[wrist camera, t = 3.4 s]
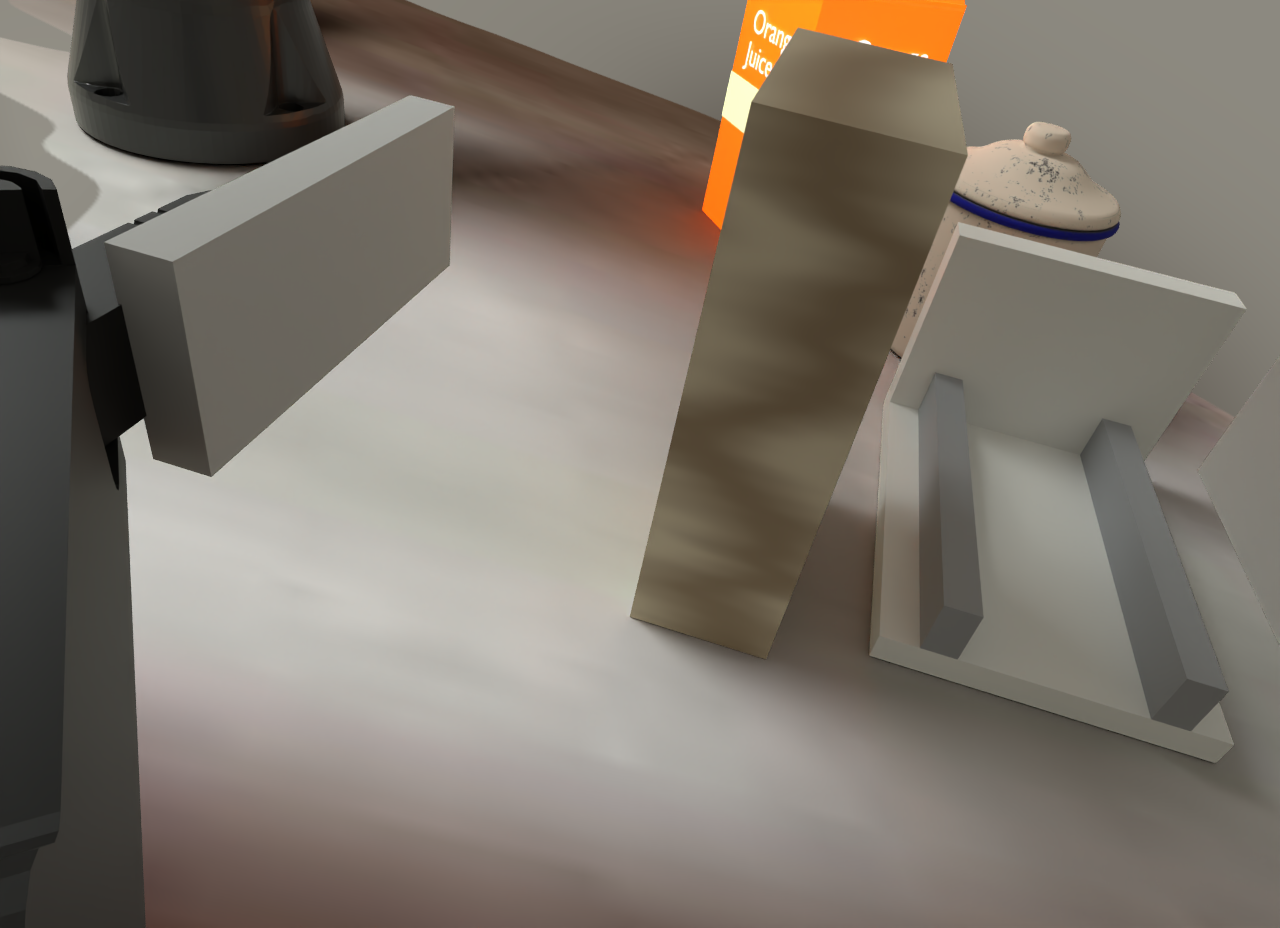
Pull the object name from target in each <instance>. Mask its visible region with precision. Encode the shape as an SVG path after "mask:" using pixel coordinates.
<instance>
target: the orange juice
mask: <svg viewBox="0 0 1280 928" xmlns="http://www.w3.org/2000/svg"><path fill="white" fill-rule="evenodd" d="M965 9H966V5H965V0H748V1H747V6H746V11H745V15H744V20H743V25H742V29H741V34H740V39H739V43H738V48H737V52H736V57H735V61H734V66H733V70H732V71H731V76H730V80H729V84H728V89H727V94H726V98H725V103H724V107H723V112H722V121H721V126H720V130H719V135H718V139H717V144H716V148H715V153H714V158H713V162H712V167H711V171H710V176H709V181H708V185H707V190H706V194H705V199H704V204H703V208H702V210H703V211H704V213H705V214H706V215H707V216H708V217H709V218H710V219H711V220H712V221H713V222H714V223H715V224H716V225H717V226H718V227H719V228H720V229H721V228H722V224H723V220H724V216H725V211H726V207H727V203H728V199H729V194H730V190H731V186H732V182H733V177H734V173H735V169H736V165H737V160H738V156H739V152H740V148H741V144H742V139H743V135H744V131H745V127H746V122H747V118H748V114H749V110H750V105H751V101H752V100H753V98H754V97H755V95H756V93H757V92H758V90H759V89H760V87H761V85H762V84H763V82H764V81H765V79H766V78H767V76H768V74H769V73H770V71H771V70H772V68H773V66H774V65H775V63H776V62H777V60H778V58H779V57H780V55H781V54H782V52H783V50H784V49H785V47H786V46H787V44H788V42H789V41H790V39H791V38H792V36H793V34H794V33H795V31H796V30H797V28H798V27H799V28H803V29H807V30H811V31H815V32H820V33H824V34H828V35H832V36H836V37H841V38H845V39H849V40H853V41H857V42H862V43H866V44H870V45H874V46H879V47H883V48H887V49H891V50H895V51H900V52H904V53H908V54H912V55H916V56H921V57H925V58H929V59H933V60H938V61H942V62H947V59H948V56H949V53H950V50H951V48H952V45H953V42H954V39H955V37H956V34H957V31H958V28H959V25H960V22H961V20H962V17H963V14H964V12H965Z"/></svg>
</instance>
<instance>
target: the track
mask: <svg viewBox="0 0 1280 928" xmlns="http://www.w3.org/2000/svg"><path fill="white" fill-rule="evenodd" d="M1246 310H1247V309H1246V307H1245V306H1244V305H1243V303H1242V302H1241V300H1240V299H1239V298H1238V296H1237V295H1236V293H1234V292H1229V291H1226V290H1222V289H1217V288H1214V287H1210V286H1206V285H1202V284H1198V283H1195V282H1191V281H1186V280H1183V279H1179V278H1175V277H1171V276H1167V275H1163V274H1159V273H1155V272H1152V271H1147V270H1144V269H1140V268H1136V267H1132V266H1128V265H1124V264H1120V263H1116V262H1112V261H1108V260H1105V259H1101V258H1097V257H1093V256H1089V255H1085V254H1081V253H1077V252H1073V251H1070V250H1066V249H1062V248H1058V247H1054V246H1050V245H1046V244H1042V243H1038V242H1034V241H1031V240H1027V239H1023V238H1019V237H1015V236H1011V235H1007V234H1003V233H999V232H995V231H992V230H988V229H984V228H980V227H976V226H972V225H968V224H964V223H960V222H958V224H957V226H956V228H955V231H954V233H953V236H952V238H951V240H950V243H949V245H948V248H947V250H946V253H945V255H944V257H943V260H942V262H941V265H940V267H939V269H938V272H937V274H936V277H935V279H934V282H933V284H932V286H931V289H930V291H929V294H928V296H927V298H926V301H925V303H924V306H923V308H922V311H921V313H920V315H919V318H918V320H917V323H916V325H915V327H914V330H913V332H912V335H911V337H910V340H909V342H908V344H907V347H906V349H905V352H904V354H903V356H902V359H901V361H900V364H899V366H898V369H897V371H896V373H895V376H894V378H893V381H892V383H891V385H890V388H889V390H888V393H887V395H886V398H885V400H884V402H883V417H882V435H881V453H880V471H879V489H878V507H877V525H876V542H875V560H874V578H873V596H872V614H871V632H870V650H869V656H872V657H875V658H878V659H881V660H885V661H888V662H891V663H894V664H898V665H901V666H904V667H907V668H910V669H914V670H917V671H920V672H923V673H927V674H930V675H933V676H936V677H939V678H943V679H946V680H949V681H952V682H956V683H959V684H962V685H965V686H968V687H972V688H975V689H978V690H981V691H985V692H988V693H991V694H994V695H997V696H1001V697H1004V698H1007V699H1010V700H1013V701H1017V702H1020V703H1023V704H1026V705H1030V706H1033V707H1036V708H1039V709H1042V710H1046V711H1049V712H1052V713H1055V714H1059V715H1062V716H1065V717H1068V718H1071V719H1075V720H1078V721H1081V722H1084V723H1088V724H1091V725H1094V726H1097V727H1100V728H1104V729H1107V730H1110V731H1113V732H1117V733H1120V734H1123V735H1126V736H1129V737H1133V738H1136V739H1139V740H1142V741H1145V742H1149V743H1152V744H1155V745H1158V746H1162V747H1165V748H1168V749H1171V750H1174V751H1178V752H1181V753H1184V754H1187V755H1191V756H1194V757H1197V758H1200V759H1203V760H1207V761H1210V762H1213V763H1216V762H1217V761H1218V760H1219V759H1220V758H1221V757H1222V756H1223V755H1224V754H1225V753H1226V752H1228V751H1229V750H1230V749H1231V748H1232V747H1233V746H1234V743H1233V740H1232V737H1231V734H1230V731H1229V728H1228V726H1227V723H1226V720H1225V717H1224V714H1223V711H1222V709H1221V706H1220V703H1219V702H1220V701H1221V699H1222V698H1223V697H1224V696H1225V695H1226V694H1227V693H1228V692H1229V690H1228V687H1227V685H1226V682H1225V679H1224V677H1223V674H1222V671H1221V668H1220V666H1219V663H1218V660H1217V658H1216V655H1215V652H1214V649H1213V647H1212V644H1211V641H1210V639H1209V636H1208V633H1207V631H1206V628H1205V625H1204V622H1203V620H1202V617H1201V614H1200V612H1199V609H1198V606H1197V603H1196V601H1195V598H1194V595H1193V593H1192V590H1191V587H1190V585H1189V582H1188V579H1187V576H1186V574H1185V571H1184V568H1183V566H1182V563H1181V560H1180V557H1179V555H1178V552H1177V549H1176V547H1175V544H1174V541H1173V539H1172V536H1171V533H1170V530H1169V528H1168V525H1167V522H1166V520H1165V517H1164V514H1163V511H1162V509H1161V506H1160V503H1159V501H1158V498H1157V495H1156V493H1155V490H1154V487H1153V484H1152V482H1151V479H1150V476H1149V474H1148V471H1147V468H1146V465H1145V463H1144V461H1145V459H1146V458H1147V456H1148V455H1149V453H1150V452H1151V450H1152V449H1153V447H1154V446H1155V444H1156V443H1157V441H1158V440H1159V439H1160V437H1161V436H1162V434H1163V433H1164V431H1165V430H1166V428H1167V427H1168V425H1169V424H1170V422H1171V421H1172V419H1173V418H1174V416H1175V415H1176V413H1177V412H1178V410H1179V409H1180V407H1181V406H1182V405H1183V403H1184V402H1185V400H1186V399H1187V397H1188V396H1189V394H1190V393H1191V391H1192V390H1193V388H1194V386H1195V385H1196V384H1197V382H1198V381H1199V379H1200V378H1201V376H1202V375H1203V373H1204V372H1205V371H1206V369H1207V367H1208V366H1209V365H1210V363H1211V362H1212V360H1213V359H1214V357H1215V356H1216V354H1217V353H1218V351H1219V350H1220V348H1221V347H1222V345H1223V344H1224V342H1225V341H1226V339H1227V338H1228V337H1229V335H1230V334H1231V332H1232V331H1233V329H1234V328H1235V326H1236V325H1237V323H1238V321H1239V320H1240V319H1241V317H1242V316H1243V314H1244V313H1245V311H1246Z"/></svg>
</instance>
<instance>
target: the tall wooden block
mask: <svg viewBox="0 0 1280 928" xmlns="http://www.w3.org/2000/svg"><path fill="white" fill-rule="evenodd" d="M967 157H968V153H967V147H966V141H965V135H964V129H963V123H962V118H961V111H960V105H959V99H958V94H957V88H956V81H955V76H954V70H953V64H950V63H946V62H942V61H938V60H933V59H929V58H925V57H921V56H916V55H912V54H908V53H904V52H900V51H895V50H891V49H887V48H883V47H879V46H874V45H870V44H866V43H862V42H857V41H853V40H849V39H845V38H841V37H836V36H832V35H828V34H824V33H820V32H815V31H811V30H807V29H803V28H799V27H798V28H797V30H796V31H795V33H794V34H793V36H792V38H791V39H790V41H789V42H788V44H787V46H786V47H785V49H784V50H783V52H782V54H781V55H780V57H779V58H778V60H777V62H776V63H775V65H774V66H773V68H772V70H771V71H770V73H769V74H768V76H767V78H766V79H765V81H764V82H763V84H762V85H761V87H760V89H759V90H758V92H757V93H756V95H755V97H754V98H753V100H752V101H751V105H750V110H749V114H748V118H747V122H746V127H745V131H744V135H743V139H742V144H741V148H740V152H739V156H738V160H737V165H736V169H735V173H734V177H733V182H732V186H731V190H730V194H729V199H728V203H727V207H726V211H725V216H724V220H723V224H722V228H721V233H720V237H719V241H718V245H717V250H716V254H715V258H714V262H713V266H712V271H711V275H710V279H709V283H708V288H707V292H706V296H705V300H704V305H703V309H702V313H701V317H700V322H699V326H698V330H697V334H696V339H695V343H694V347H693V351H692V355H691V360H690V364H689V368H688V372H687V377H686V381H685V385H684V389H683V394H682V398H681V402H680V406H679V411H678V415H677V419H676V423H675V428H674V432H673V436H672V440H671V445H670V449H669V453H668V457H667V461H666V466H665V470H664V474H663V478H662V483H661V487H660V491H659V495H658V500H657V504H656V508H655V512H654V517H653V521H652V525H651V529H650V534H649V538H648V542H647V546H646V551H645V555H644V559H643V563H642V567H641V572H640V576H639V580H638V584H637V589H636V593H635V597H634V601H633V606H632V610H631V614H630V617H632V618H636V619H639V620H642V621H645V622H648V623H652V624H655V625H658V626H661V627H664V628H667V629H671V630H674V631H677V632H680V633H683V634H686V635H690V636H693V637H696V638H699V639H702V640H706V641H709V642H712V643H715V644H718V645H721V646H725V647H728V648H731V649H734V650H737V651H740V652H744V653H747V654H750V655H753V656H756V657H760V658H763V659H766V658H767V656H768V653H769V651H770V648H771V646H772V643H773V641H774V638H775V636H776V633H777V631H778V628H779V626H780V623H781V621H782V618H783V616H784V613H785V611H786V608H787V606H788V603H789V601H790V598H791V596H792V593H793V591H794V588H795V586H796V583H797V581H798V578H799V576H800V573H801V571H802V568H803V566H804V563H805V561H806V558H807V556H808V553H809V551H810V548H811V546H812V543H813V541H814V538H815V536H816V533H817V531H818V528H819V526H820V523H821V521H822V518H823V516H824V513H825V511H826V508H827V506H828V503H829V501H830V498H831V496H832V493H833V491H834V488H835V486H836V483H837V481H838V478H839V476H840V473H841V471H842V468H843V466H844V463H845V461H846V459H847V456H848V454H849V451H850V449H851V446H852V444H853V441H854V439H855V436H856V434H857V431H858V429H859V426H860V424H861V421H862V419H863V416H864V414H865V411H866V409H867V406H868V404H869V401H870V399H871V396H872V394H873V391H874V389H875V386H876V384H877V381H878V379H879V376H880V374H881V371H882V369H883V366H884V364H885V361H886V359H887V356H888V354H889V351H890V349H891V346H892V344H893V341H894V339H895V336H896V334H897V331H898V329H899V326H900V324H901V321H902V319H903V316H904V314H905V311H906V309H907V306H908V304H909V301H910V299H911V296H912V294H913V291H914V289H915V286H916V284H917V281H918V279H919V276H920V274H921V271H922V269H923V266H924V264H925V261H926V259H927V256H928V254H929V251H930V249H931V246H932V244H933V241H934V239H935V236H936V234H937V231H938V229H939V226H940V224H941V221H942V219H943V216H944V214H945V211H946V209H947V206H948V204H949V201H950V199H951V196H952V194H953V191H954V189H955V186H956V184H957V181H958V179H959V177H960V174H961V172H962V169H963V167H964V164H965V162H966V159H967Z"/></svg>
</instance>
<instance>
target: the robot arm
mask: <svg viewBox="0 0 1280 928" xmlns="http://www.w3.org/2000/svg"><path fill="white" fill-rule="evenodd" d="M67 78H68V87H69V92H70V96H71V100H72V105H73V109H74V113H75V117H76V121H77V123H78V124H79V126H80V127H81V128H82V129H83V130H84V131H85V132H87V133H88V134H89V135H91V136H93V137H94V138H96V139H98V140H100V141H102V142H104V143H107V144H109V145H112V146H114V147H117V148H120V149H123V150H127V151H130V152H134V153H138V154H142V155H146V156H151V157H157V158H162V159H169V160H176V161H185V162H195V163H212V164H248V163H262V162H270V163H268V164H266V165H264V166H262V167H260V168H257V169H255V170H253V171H251V172H249V173H247V174H245V175H243V176H241V177H239V178H237V179H234V180H232V181H230V182H228V183H226V184H224V185H222V186H220V187H218V188H216V189H214V190H210V191H205V192H200V193H195V194H191V195H186V196H184V197H182V198H180V199H178V200H176V201H174V202H171V203H169V204H167V205H165V206H163V207H161V208H159V209H158V212H157V213H156V212H150V213H148V214H146V215H144V216H142V217H140V218H137V219H135V220H134V224H131V223H127V224H125V225H122V226H120V227H118V228H116V229H114V230H112V231H110V232H108V233H105V234H103V235H101V236H99V237H97V238H95V239H93V240H91V241H88V242H86V243H84V244H82V245H80V246H78V247H76V248H74V249H72V248H71V244H70V240H69V236H68V232H67V228H66V224H65V221H64V217H63V213H62V209H61V205H60V201H59V197H58V193H57V189H56V187H55V185H54V183H53V182H52V180H51V179H49V178H47V177H45V176H43V175H41V174H39V173H37V172H35V171H30V170H26V169H20V168H16V167H12V166H0V928H146V925H145V902H144V879H143V855H142V832H141V809H140V786H139V763H138V739H137V716H136V693H135V670H134V646H133V623H132V600H131V577H130V554H129V530H128V507H127V484H126V461H125V457H124V453H123V449H122V445H121V441H120V437H119V436H120V435H121V434H123V433H124V432H125V431H127V430H128V429H129V428H131V427H132V426H134V425H135V424H136V423H138V422H139V421H140V420H142V419H143V418H144V421H145V425H146V429H147V434H148V438H149V442H150V447H151V451H152V455H153V459H155V460H159V461H162V462H165V463H168V464H171V465H175V466H178V467H181V468H184V469H187V470H191V471H194V472H197V473H200V474H204V475H207V476H210V477H212V476H213V475H214V474H215V473H216V472H217V471H219V470H220V469H221V468H222V467H223V466H224V465H225V464H226V463H228V462H229V461H230V460H231V459H232V458H233V457H234V456H235V455H237V454H238V453H239V452H240V451H241V450H242V449H243V448H244V447H246V446H247V445H248V444H249V443H250V442H251V441H252V440H253V439H255V438H256V437H257V436H258V435H259V434H260V433H261V432H262V431H264V430H265V429H266V428H267V427H268V426H269V425H270V424H271V423H273V422H274V421H275V420H276V419H277V418H278V417H279V416H280V415H282V414H283V413H284V412H285V411H286V410H287V409H288V408H289V407H291V406H292V405H293V404H294V403H295V402H296V401H297V400H298V399H300V398H301V397H302V396H303V395H304V394H305V393H306V392H307V391H309V390H310V389H311V388H312V387H313V386H314V385H315V384H316V383H318V382H319V381H320V380H321V379H322V378H323V377H324V376H325V375H327V374H328V373H329V372H330V371H331V370H332V369H333V368H334V367H336V366H337V365H338V364H339V363H340V362H341V361H342V360H343V359H345V358H346V357H347V356H348V355H349V354H350V353H351V352H352V351H354V350H355V349H356V348H357V347H358V346H359V345H360V344H361V343H363V342H364V341H365V340H366V339H367V338H368V337H369V336H370V335H372V334H373V333H374V332H375V331H376V330H377V329H378V328H379V327H381V326H382V325H383V324H384V323H385V322H386V321H387V320H388V319H390V318H391V317H392V316H393V315H394V314H395V313H396V312H397V311H399V310H400V309H401V308H402V307H403V306H404V305H405V304H406V303H408V302H409V301H410V300H411V299H412V298H413V297H414V296H415V295H417V294H418V293H419V292H420V291H421V290H422V289H423V288H424V287H426V286H427V285H428V284H429V283H430V282H431V281H432V280H433V279H435V278H436V277H437V276H438V275H439V274H440V273H441V272H442V271H444V270H445V269H446V268H447V267H448V266H449V265H450V236H451V204H452V173H453V141H454V110H455V107H454V106H450V105H446V104H443V103H439V102H435V101H431V100H427V99H423V98H419V97H415V96H411V95H410V96H408V97H406V98H404V99H401V100H399V101H397V102H395V103H393V104H391V105H389V106H387V107H385V108H383V109H381V110H378V111H376V112H374V113H372V114H370V115H368V116H366V117H364V118H362V119H360V120H358V121H356V122H353V123H351V124H349V125H347V126H345V119H344V98H343V93H342V88H341V86H340V83H339V80H338V77H337V74H336V72H335V69H334V66H333V63H332V61H331V58H330V55H329V52H328V49H327V47H326V44H325V41H324V38H323V35H322V33H321V30H320V27H319V24H318V22H317V19H316V16H315V13H314V10H313V8H312V5H311V2H310V0H77V1H76V9H75V17H74V25H73V34H72V42H71V50H70V58H69V66H68V75H67ZM1198 472H1199V475H1200V477H1201V479H1202V481H1203V483H1204V485H1205V487H1206V490H1207V492H1208V494H1209V496H1210V498H1211V500H1212V502H1213V505H1214V507H1215V509H1216V511H1217V513H1218V515H1219V517H1220V520H1221V522H1222V524H1223V526H1224V528H1225V530H1226V532H1227V535H1228V537H1229V539H1230V541H1231V543H1232V545H1233V547H1234V550H1235V552H1236V554H1237V556H1238V558H1239V560H1240V562H1241V565H1242V567H1243V569H1244V571H1245V573H1246V575H1247V577H1248V580H1249V582H1250V584H1251V586H1252V588H1253V590H1254V592H1255V595H1256V597H1257V599H1258V601H1259V603H1260V605H1261V607H1262V610H1263V612H1264V614H1265V616H1266V618H1267V620H1268V622H1269V625H1270V627H1271V629H1272V631H1273V633H1274V635H1275V637H1276V640H1277V642H1278V644H1279V646H1280V356H1279V357H1278V359H1277V360H1276V361H1275V363H1274V364H1273V365H1272V367H1271V368H1270V370H1269V371H1268V372H1267V374H1266V375H1265V377H1264V378H1263V379H1262V381H1261V382H1260V384H1259V385H1258V386H1257V388H1256V389H1255V391H1254V392H1253V393H1252V395H1251V396H1250V398H1249V399H1248V400H1247V402H1246V403H1245V404H1244V406H1243V407H1242V409H1241V410H1240V412H1239V413H1238V414H1237V416H1236V417H1235V418H1234V420H1233V421H1232V423H1231V424H1230V425H1229V427H1228V428H1227V430H1226V431H1225V432H1224V434H1223V435H1222V437H1221V438H1220V439H1219V441H1218V442H1217V444H1216V445H1215V446H1214V448H1213V449H1212V451H1211V452H1210V453H1209V455H1208V456H1207V458H1206V459H1205V460H1204V462H1203V463H1202V465H1201V466H1200V467H1199V469H1198Z"/></svg>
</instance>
